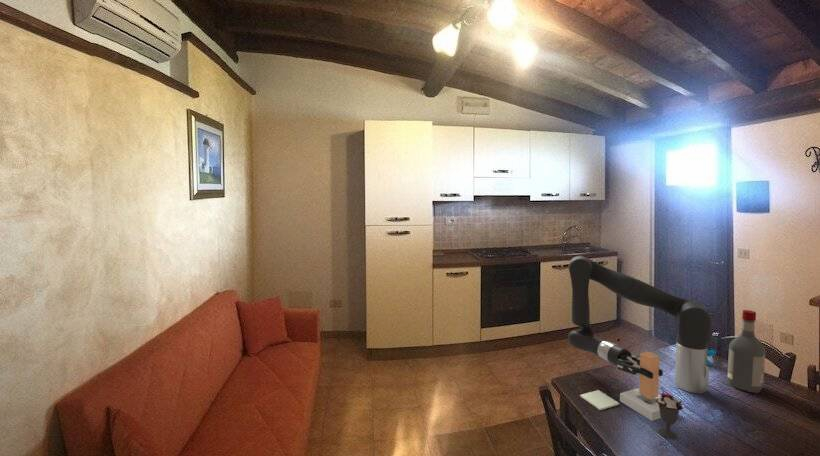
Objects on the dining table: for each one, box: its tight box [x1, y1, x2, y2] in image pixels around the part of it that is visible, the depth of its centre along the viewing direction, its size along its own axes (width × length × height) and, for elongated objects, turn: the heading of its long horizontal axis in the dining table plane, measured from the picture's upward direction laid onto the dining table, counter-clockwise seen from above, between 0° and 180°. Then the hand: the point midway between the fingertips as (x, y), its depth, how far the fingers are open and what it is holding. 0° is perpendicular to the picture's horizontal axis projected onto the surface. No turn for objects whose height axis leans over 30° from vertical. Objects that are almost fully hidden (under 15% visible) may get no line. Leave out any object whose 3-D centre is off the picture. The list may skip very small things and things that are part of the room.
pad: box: [579, 389, 620, 411], centre depth 126 cm, size 9×9×1 cm
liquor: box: [726, 309, 766, 394], centre depth 131 cm, size 9×9×30 cm
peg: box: [638, 351, 660, 399], centre depth 120 cm, size 4×4×15 cm
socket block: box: [619, 387, 661, 422], centre depth 121 cm, size 12×12×3 cm
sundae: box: [656, 386, 684, 440], centre depth 107 cm, size 7×7×15 cm
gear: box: [706, 349, 717, 367], centre depth 149 cm, size 11×6×10 cm
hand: (657, 374), depth 118 cm, fingers closed on peg, 4 cm apart
